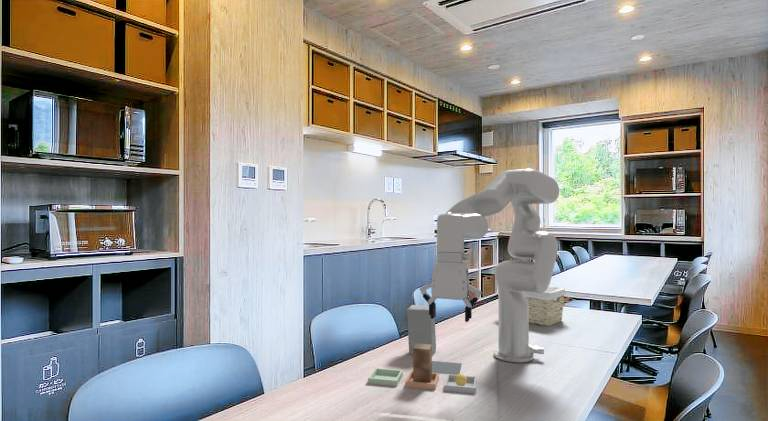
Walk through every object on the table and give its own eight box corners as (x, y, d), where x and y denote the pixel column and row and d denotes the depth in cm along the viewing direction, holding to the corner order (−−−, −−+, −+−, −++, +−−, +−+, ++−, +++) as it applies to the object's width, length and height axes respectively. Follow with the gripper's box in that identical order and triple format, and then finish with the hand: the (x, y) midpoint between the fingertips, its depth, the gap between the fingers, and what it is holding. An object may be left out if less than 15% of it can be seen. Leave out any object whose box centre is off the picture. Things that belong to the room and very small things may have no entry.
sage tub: (402, 377, 129) (402, 370, 129) (396, 388, 121) (396, 380, 121) (375, 374, 131) (375, 367, 131) (367, 385, 123) (367, 378, 123)
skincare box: (436, 351, 153) (436, 304, 153) (431, 357, 146) (431, 309, 146) (412, 348, 155) (412, 303, 155) (406, 354, 149) (406, 307, 149)
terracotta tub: (439, 380, 126) (439, 373, 126) (435, 391, 118) (435, 384, 118) (410, 377, 128) (410, 370, 128) (405, 389, 120) (405, 381, 120)
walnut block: (431, 380, 125) (431, 344, 125) (429, 386, 121) (429, 349, 121) (416, 378, 126) (415, 343, 126) (413, 384, 122) (413, 348, 122)
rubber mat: (461, 365, 139) (461, 363, 139) (459, 376, 129) (459, 374, 129) (429, 362, 141) (429, 360, 141) (425, 374, 131) (425, 372, 131)
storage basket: (566, 321, 193) (566, 287, 193) (549, 328, 182) (549, 292, 182) (516, 312, 210) (516, 281, 210) (498, 318, 199) (498, 285, 199)
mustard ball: (467, 384, 122) (467, 372, 122) (466, 388, 119) (466, 376, 119) (455, 383, 123) (455, 371, 123) (454, 387, 120) (454, 375, 120)
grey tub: (476, 383, 124) (476, 376, 124) (475, 395, 116) (475, 388, 116) (447, 381, 126) (447, 374, 126) (444, 392, 118) (444, 385, 118)
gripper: (483, 258, 125) (483, 319, 125) (423, 255, 131) (423, 313, 131) (479, 260, 118) (479, 325, 118) (416, 258, 124) (416, 319, 124)
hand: (450, 319), depth 124 cm, fingers open, 9 cm apart
